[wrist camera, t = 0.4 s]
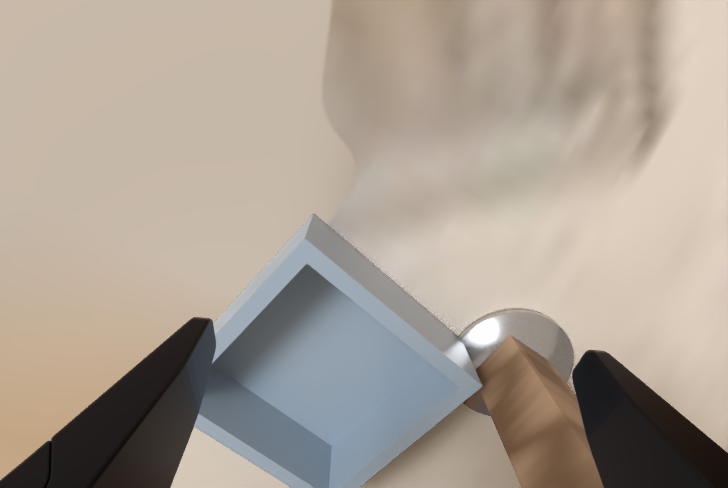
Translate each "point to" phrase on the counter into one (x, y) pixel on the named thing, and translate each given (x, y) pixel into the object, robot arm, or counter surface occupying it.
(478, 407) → the base
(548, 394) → the strut
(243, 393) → the bin
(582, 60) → the counter surface
